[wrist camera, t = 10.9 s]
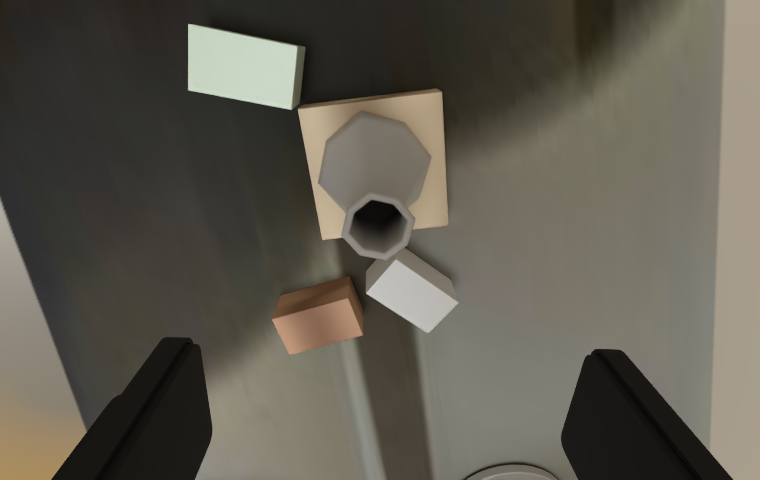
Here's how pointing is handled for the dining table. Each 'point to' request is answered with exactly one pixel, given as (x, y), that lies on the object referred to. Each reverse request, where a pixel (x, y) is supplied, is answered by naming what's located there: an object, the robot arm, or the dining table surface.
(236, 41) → the sage brick
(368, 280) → the grey brick
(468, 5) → the dining table surface
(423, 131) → the oak block
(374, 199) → the flask
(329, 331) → the cherry brick
